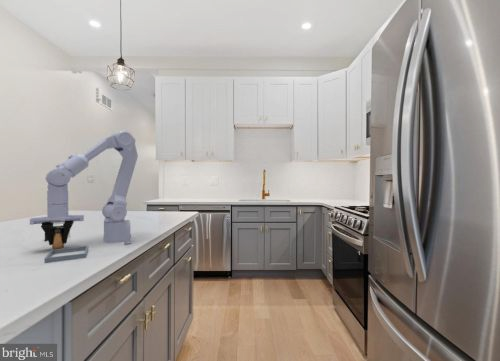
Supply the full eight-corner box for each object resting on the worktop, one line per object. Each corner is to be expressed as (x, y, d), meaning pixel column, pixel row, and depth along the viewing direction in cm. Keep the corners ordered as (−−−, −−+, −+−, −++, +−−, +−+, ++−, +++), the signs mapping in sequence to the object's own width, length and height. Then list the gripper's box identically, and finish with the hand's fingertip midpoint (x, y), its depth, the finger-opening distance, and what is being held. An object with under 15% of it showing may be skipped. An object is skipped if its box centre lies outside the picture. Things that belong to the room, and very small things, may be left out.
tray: (88, 253, 86) (88, 245, 86) (85, 261, 77) (85, 253, 77) (51, 257, 81) (51, 249, 81) (44, 267, 72) (44, 258, 72)
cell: (64, 247, 88) (64, 225, 88) (63, 250, 85) (63, 226, 85) (53, 248, 86) (53, 226, 86) (51, 251, 83) (51, 227, 83)
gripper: (84, 202, 92) (84, 238, 93) (33, 203, 85) (33, 243, 85) (82, 203, 86) (82, 243, 86) (27, 206, 79) (28, 248, 79)
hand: (58, 243), depth 86 cm, fingers closed on cell, 3 cm apart
